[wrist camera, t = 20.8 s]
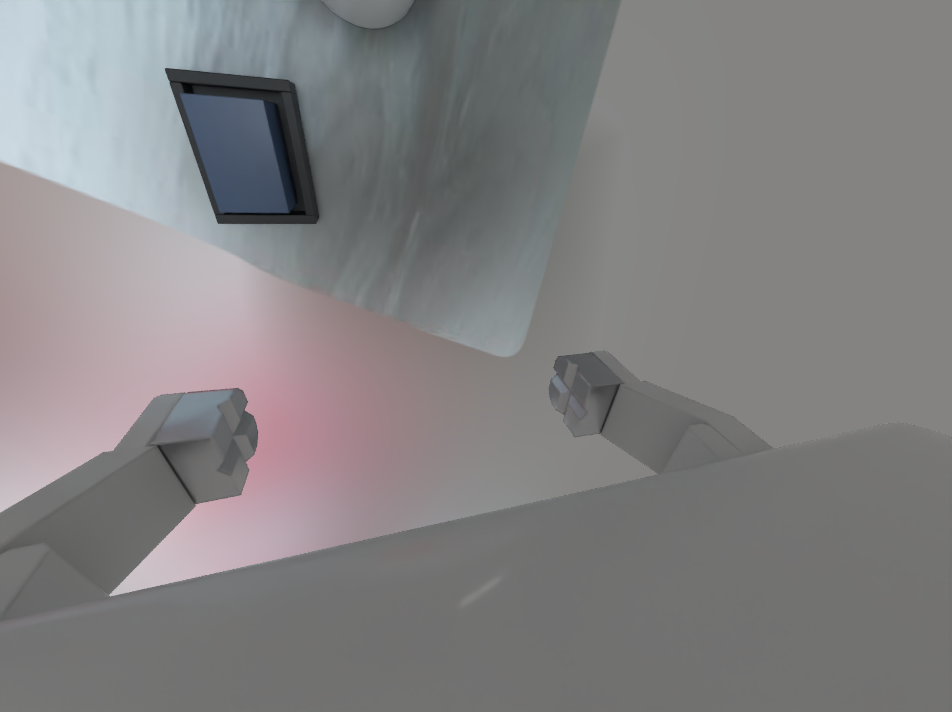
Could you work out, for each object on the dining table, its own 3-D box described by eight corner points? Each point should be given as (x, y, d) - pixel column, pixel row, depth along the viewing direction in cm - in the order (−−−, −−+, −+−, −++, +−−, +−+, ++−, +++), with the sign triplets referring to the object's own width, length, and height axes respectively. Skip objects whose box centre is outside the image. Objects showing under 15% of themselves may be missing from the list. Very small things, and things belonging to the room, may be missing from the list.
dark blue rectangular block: (206, 97, 21) (179, 92, 18) (277, 103, 22) (263, 99, 19) (237, 201, 24) (219, 212, 21) (298, 202, 26) (289, 213, 22)
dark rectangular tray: (179, 72, 21) (164, 67, 19) (294, 83, 22) (289, 80, 21) (227, 217, 25) (217, 223, 24) (319, 217, 27) (316, 223, 25)
